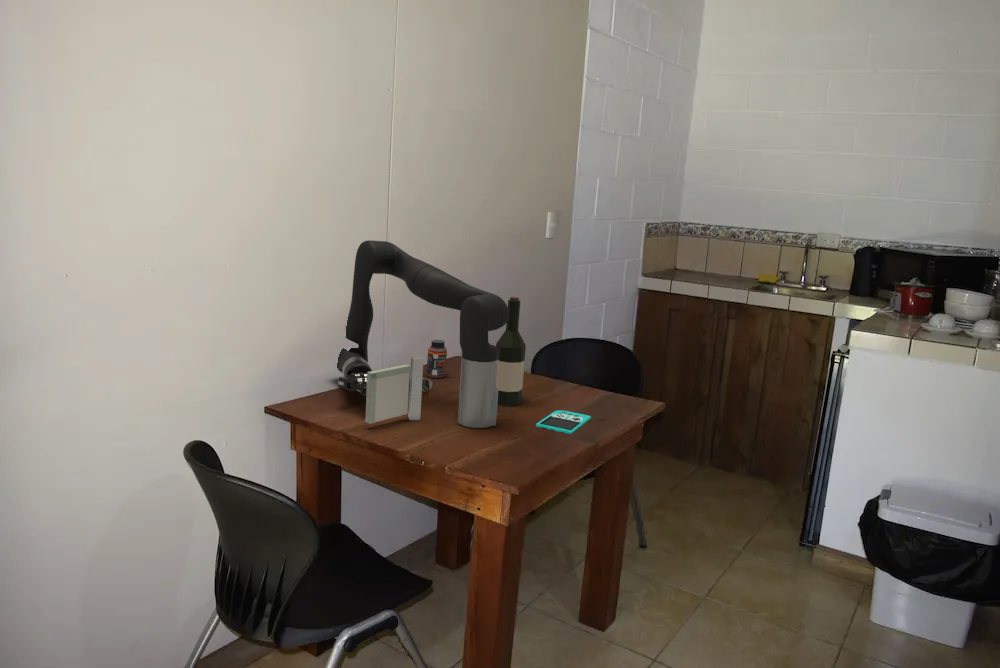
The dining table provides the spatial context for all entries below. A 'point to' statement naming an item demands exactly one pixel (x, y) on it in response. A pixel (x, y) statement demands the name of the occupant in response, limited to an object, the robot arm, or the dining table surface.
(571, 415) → the handheld game console
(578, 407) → the dining table surface
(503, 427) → the dining table surface
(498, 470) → the dining table surface
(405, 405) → the beige and green panel
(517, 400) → the wine bottle
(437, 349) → the supplement bottle
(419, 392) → the post
